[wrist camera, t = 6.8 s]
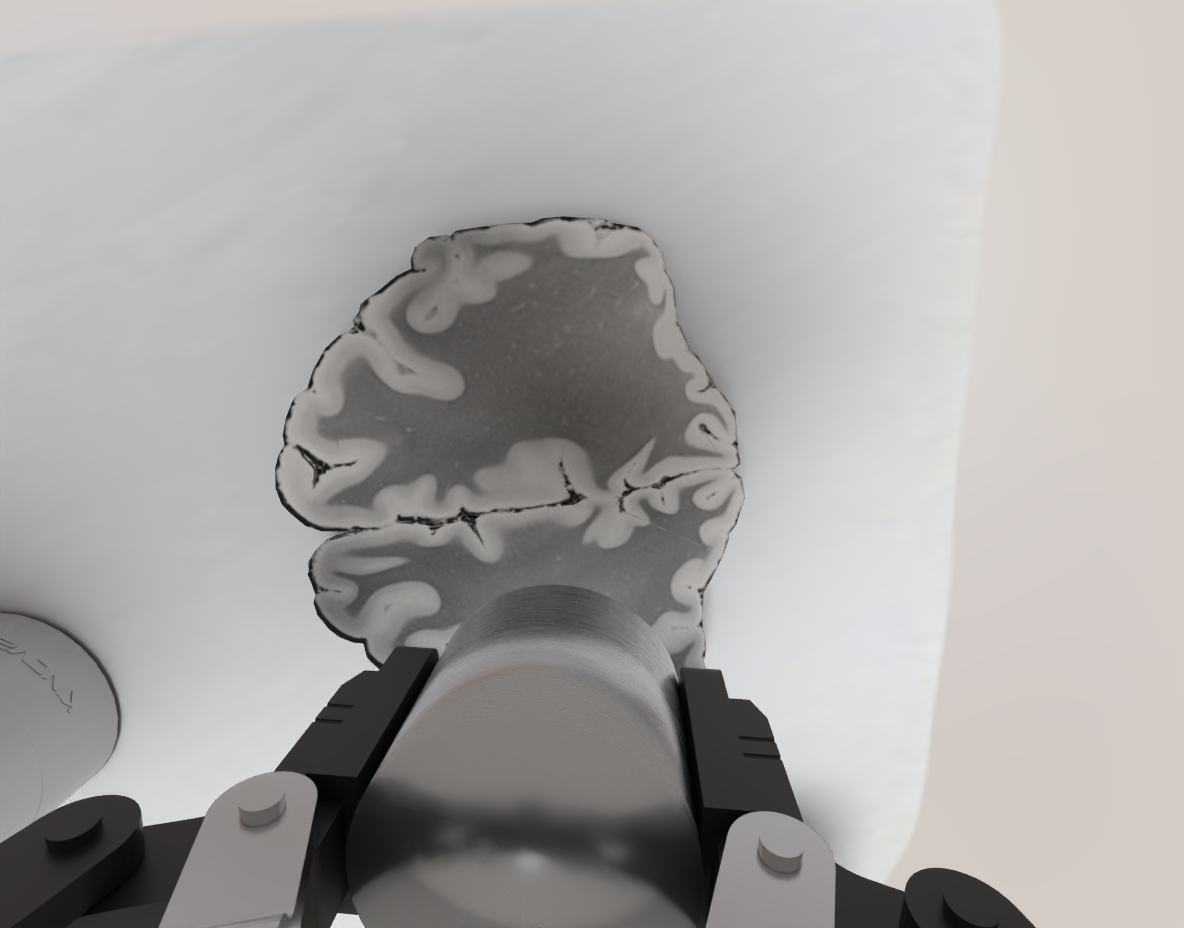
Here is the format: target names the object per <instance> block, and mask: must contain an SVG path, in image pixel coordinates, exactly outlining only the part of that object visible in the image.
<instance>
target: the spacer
mask: <svg viewBox="0 0 1184 928" xmlns="http://www.w3.org/2000/svg"><path fill="white" fill-rule="evenodd" d="M346 872H347V880H348V886H349V889H350V893H351V897H352V900H353V903H354V906H355V908H356V910H357V913H358V915H359V917H360V920H361V922H362V923H363V925H364V927H365V928H696V926H697V923H698V921H699V918H700V914H701V909H702V904H703V898H704V870H703V862H702V855H701V847H700V840H699V833H698V825H697V818H696V810H695V803H694V796H693V788H692V781H691V774H690V766H689V759H688V751H687V744H686V737H685V729H684V722H683V714H682V707H681V700H680V692H679V685H678V678H677V675H676V671H675V668H674V664H673V662H672V660H671V658H670V655H669V653H668V651H667V649H666V648H665V646H664V644H663V643H662V641H661V639H660V638H659V637H658V635H657V634H656V633H655V632H654V631H653V629H652V628H651V627H650V626H649V625H648V624H647V623H646V622H645V621H644V620H643V619H642V618H641V617H640V616H639V615H637V614H636V613H635V612H633V611H632V610H631V609H629V608H628V607H626V606H625V605H623V604H621V603H620V602H618V601H616V600H614V599H612V598H610V597H608V596H605V595H603V594H600V593H598V592H595V591H592V590H588V589H584V588H580V587H574V586H567V585H538V586H530V587H525V588H521V589H517V590H513V591H511V592H508V593H505V594H503V595H500V596H498V597H496V598H494V599H492V600H491V601H489V602H487V603H485V604H484V605H482V606H481V607H480V608H478V609H477V610H476V611H474V612H473V613H472V614H471V615H470V616H469V617H468V618H467V619H466V620H465V621H464V622H463V623H462V624H461V625H460V626H459V628H458V629H457V630H456V632H455V633H454V634H453V636H452V637H451V639H450V641H449V643H448V645H447V646H446V648H445V650H444V652H443V654H442V655H441V657H440V659H439V661H438V662H437V664H436V666H435V668H434V670H433V671H432V673H431V675H430V677H429V679H428V680H427V682H426V684H425V686H424V687H423V689H422V691H421V693H420V695H419V696H418V698H417V700H416V702H415V704H414V705H413V707H412V709H411V711H410V712H409V714H408V716H407V718H406V720H405V721H404V723H403V725H402V727H401V729H400V730H399V732H398V734H397V736H396V737H395V739H394V741H393V743H392V745H391V746H390V748H389V750H388V752H387V754H386V755H385V757H384V759H383V761H382V762H381V764H380V766H379V768H378V770H377V771H376V773H375V775H374V777H373V779H372V780H371V782H370V784H369V786H368V788H367V789H366V791H365V793H364V795H363V797H362V798H361V800H360V802H359V804H358V806H357V807H356V810H355V813H354V816H353V818H352V821H351V824H350V828H349V833H348V838H347V843H346Z"/></svg>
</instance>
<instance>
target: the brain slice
mask: <svg viewBox="0 0 1184 928" xmlns="http://www.w3.org/2000/svg"><path fill="white" fill-rule="evenodd" d="M411 267H412V269H410V270H408V271H406V272H404V273H402V274H400V275H398V276H396V277H395V278H394V279H392V280H391V281H390V282H389V283H388V284H386V285H385V286H384V287H383V288H382V289H380V290H379V291H378V292H376V293H375V294H373V295H372V296H371V297H369V298H368V299H367V300H365V301H364V302H363V303H362V304H361V306H360V310H359V313H358V314H357V315H356V317H355V318H354V320H353V322H354V327H353V328H352V329H351V330H350V331H349V332H347V333H345V334H342V335H340V336H338V337H337V338H336V339H335V340H334V341H333V342H332V343H331V344H330V345H329V346H327V347H326V348H325V350H324V352H323V354H322V355H321V357H320V359H319V361H318V363H317V364H316V366H315V368H314V370H313V372H312V375H311V379H310V382H309V385H308V388H307V389H306V390H305V391H303V392H302V393H301V394H299V395H298V396H296V397H295V398H294V400H293V402H292V404H291V406H290V409H289V412H288V414H287V417H286V421H285V426H284V431H283V438H284V447H283V449H282V450H281V452H280V454H279V456H278V460H277V464H276V468H275V479H276V490H277V493H278V496H279V498H280V501H281V503H282V505H283V506H284V507H285V508H286V509H287V510H288V511H289V512H290V513H291V514H292V515H293V516H294V517H296V518H297V519H298V520H299V521H300V522H302V523H303V524H304V525H305V526H307V527H311V528H314V529H317V530H320V531H349V530H357V531H353V532H349V533H344V534H340V535H336V536H334V537H331V538H329V539H327V540H326V541H325V542H324V543H323V544H322V545H321V546H320V547H319V548H318V549H317V550H316V551H315V553H314V554H313V556H312V557H311V559H310V561H309V562H308V567H309V573H308V576H309V578H310V581H311V583H312V586H313V589H314V592H315V599H314V605H315V609H316V612H317V615H318V616H319V617H320V619H321V620H322V621H323V622H324V624H325V625H326V626H327V627H328V628H329V629H330V630H331V631H332V632H333V633H335V634H336V635H337V636H339V637H341V638H343V639H346V640H348V641H351V642H353V643H363V644H364V647H365V651H366V655H367V658H368V659H369V660H370V661H371V662H372V663H373V664H374V665H375V666H376V667H377V668H378V669H380V668H381V667H382V665H383V664H384V662H385V661H386V660H387V658H388V657H389V655H390V654H391V653H392V651H393V650H394V649H395V647H397V646H409V647H423V648H436V649H437V650H438V653H439V659H440V657H441V655H442V654H443V652H444V650H445V648H446V646H447V645H448V643H449V641H450V639H451V637H452V636H453V634H454V633H455V632H456V630H457V629H458V628H459V626H460V625H461V624H462V623H463V622H464V621H465V620H466V619H467V618H468V617H469V616H470V615H471V614H472V613H473V612H474V611H476V610H477V609H478V608H480V607H481V606H482V605H484V604H485V603H487V602H489V601H491V600H492V599H494V598H496V597H498V596H500V595H503V594H505V593H508V592H511V591H513V590H517V589H521V588H525V587H530V586H538V585H567V586H574V587H580V588H584V589H588V590H592V591H595V592H598V593H600V594H603V595H605V596H608V597H610V598H612V599H614V600H616V601H618V602H620V603H621V604H623V605H625V606H626V607H628V608H629V609H631V610H632V611H633V612H635V613H636V614H637V615H639V616H640V617H641V618H642V619H643V620H644V621H645V622H646V623H647V624H648V625H649V626H650V627H651V628H652V629H653V631H654V632H655V633H656V634H657V635H658V637H659V638H660V639H661V641H662V643H663V644H664V646H665V648H666V649H667V651H668V653H669V655H670V658H671V660H672V662H673V664H674V668H675V671H676V675H677V678H678V684H679V675H680V669H681V667H687V668H701V669H706V668H705V663H704V657H705V652H706V640H705V634H704V631H703V625H702V615H703V592H704V590H705V589H706V587H707V585H708V584H709V582H710V580H711V578H712V576H713V574H714V572H715V570H716V568H717V566H718V564H719V562H720V560H721V558H722V556H723V554H724V551H725V548H726V545H727V542H728V539H729V533H730V532H731V530H732V529H733V528H734V527H735V525H736V523H737V520H738V517H739V514H740V511H741V508H742V505H743V502H744V499H745V497H744V490H743V483H742V478H741V477H740V476H739V475H737V474H736V473H734V472H733V469H734V468H735V467H737V466H738V465H739V464H740V459H739V453H738V448H737V445H738V441H737V430H736V419H735V412H734V410H733V409H732V407H731V406H730V404H729V402H728V401H727V399H726V398H725V396H724V395H723V394H722V393H721V392H720V391H719V390H718V389H717V388H716V387H715V385H714V383H713V381H712V379H711V377H710V376H709V374H708V372H707V370H706V369H705V367H704V365H703V364H702V362H701V361H700V359H699V357H698V356H697V355H696V354H694V353H693V352H692V351H691V350H690V348H689V346H688V343H687V341H686V339H685V336H684V334H683V332H682V329H681V327H680V325H679V324H678V322H677V318H676V303H675V291H674V286H673V284H672V282H671V280H670V278H669V276H668V274H667V272H666V270H665V266H664V261H663V256H662V253H661V251H660V250H659V248H658V247H657V245H656V244H655V242H654V240H653V239H652V237H651V236H649V235H648V234H646V233H645V232H644V231H642V230H641V229H639V228H638V227H632V226H626V225H620V224H615V223H612V222H609V221H607V220H602V219H590V218H576V217H553V218H543V219H540V220H537V221H534V222H532V223H510V224H502V225H493V226H485V227H477V228H471V229H465V230H459V231H455V232H454V233H453V234H452V235H451V236H448V235H445V236H436V237H429V238H428V239H426V240H425V241H423V242H422V243H420V244H419V245H418V246H416V247H415V249H414V252H413V254H412V257H411Z"/></svg>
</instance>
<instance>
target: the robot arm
mask: <svg viewBox="0 0 1184 928" xmlns="http://www.w3.org/2000/svg"><path fill="white" fill-rule="evenodd" d="M438 661H439V653H438V650H437V649H436V648H423V647H409V646H397V647H395V649H394V650H393V651H392V653H391V654H390V655H389V657H388V658H387V660H386V661H385V662H384V664H383V665H382V667H381V668H380V669H379V671H367V670H365V671H363V672H362V673H360V674H358V675H357V676H355V677H354V678H352V679H351V680H349V681H347V682H346V683H344V684H343V685H341V687H340V688H339V689H338V691H337V692H336V693H335V694H334V696H333V697H332V698H331V699H330V701H329V702H328V705H327V707H324V708H323V710H322V711H321V712H320V713H319V715H318V716H317V717H316V720H315V722H312V724H311V725H310V726H309V727H308V729H307V730H306V731H305V733H304V734H303V735H302V736H301V738H300V739H299V740H298V741H297V743H296V744H295V745H294V747H293V748H292V749H291V750H290V752H289V753H288V754H287V755H286V757H285V758H284V759H283V761H282V762H281V763H280V764H279V766H278V767H277V768H276V769H275V771H274V772H271V773H265V774H261V775H258V776H254V777H252V778H249V779H246V780H244V781H242V782H240V783H238V784H236V785H235V786H233V787H231V788H230V789H228V790H227V791H226V792H224V793H223V794H222V795H220V796H219V797H218V798H217V799H216V800H215V801H214V803H213V804H212V805H211V807H210V808H209V810H208V812H207V813H206V816H204V817H199V818H194V819H188V820H182V821H176V822H169V823H163V824H157V825H151V826H144V827H143V823H142V815H141V809H140V807H139V804H138V803H137V802H136V801H135V800H133V799H131V798H129V797H125V796H119V795H103V796H95V797H91V798H86V799H82V800H79V801H76V802H73V803H70V804H67V805H65V806H62V807H60V808H58V809H56V808H57V807H58V806H60V805H61V804H62V803H63V802H64V801H65V800H66V799H68V798H69V797H70V796H71V795H72V794H73V793H75V792H76V791H77V790H78V789H79V788H80V787H81V786H83V785H84V784H85V783H86V782H87V781H88V780H90V779H91V778H92V777H93V776H94V775H95V774H96V773H97V772H98V771H99V770H101V769H102V768H103V766H104V765H105V763H106V762H107V760H108V758H109V757H110V755H111V754H112V751H113V748H114V745H115V742H116V739H117V730H118V715H117V709H116V704H115V699H114V696H113V694H112V691H111V689H110V686H109V684H108V682H107V679H106V678H105V676H104V675H103V673H102V672H101V670H100V669H99V667H98V666H97V664H96V663H95V661H94V660H93V659H92V658H91V657H90V656H89V655H88V654H87V653H86V652H85V651H84V650H83V649H82V648H81V647H80V645H78V644H77V643H76V642H74V641H73V640H72V639H70V638H69V637H67V636H66V635H65V634H63V633H62V632H61V631H59V630H57V629H55V628H53V627H51V626H49V625H47V624H45V623H43V622H41V621H38V620H35V619H31V618H28V617H25V616H22V615H17V614H8V613H0V928H330V927H331V925H332V923H333V920H334V918H335V916H336V914H337V913H343V914H354V915H358V913H357V910H356V908H355V906H354V903H353V900H352V897H351V893H350V889H349V886H348V880H347V872H346V843H347V838H348V833H349V828H350V824H351V821H352V818H353V816H354V813H355V810H356V807H357V806H358V804H359V802H360V800H361V798H362V797H363V795H364V793H365V791H366V789H367V788H368V786H369V784H370V782H371V780H372V779H373V777H374V775H375V773H376V771H377V770H378V768H379V766H380V764H381V762H382V761H383V759H384V757H385V755H386V754H387V752H388V750H389V748H390V746H391V745H392V743H393V741H394V739H395V737H396V736H397V734H398V732H399V730H400V729H401V727H402V725H403V723H404V721H405V720H406V718H407V716H408V714H409V712H410V711H411V709H412V707H413V705H414V704H415V702H416V700H417V698H418V696H419V695H420V693H421V691H422V689H423V687H424V686H425V684H426V682H427V680H428V679H429V677H430V675H431V673H432V671H433V670H434V668H435V666H436V664H437V662H438ZM678 685H679V692H680V700H681V707H682V714H683V722H684V729H685V737H686V744H687V751H688V759H689V766H690V774H691V781H692V788H693V796H694V803H695V810H696V818H697V825H698V833H699V840H700V847H701V855H702V862H703V870H704V898H703V904H702V909H701V914H700V918H699V921H698V923H697V926H696V928H1035V927H1034V925H1033V924H1032V923H1031V922H1030V921H1029V920H1028V919H1027V918H1026V917H1025V916H1024V915H1023V914H1022V913H1021V912H1020V911H1019V910H1018V909H1017V907H1015V906H1014V905H1013V904H1012V903H1011V902H1010V901H1009V900H1008V899H1007V898H1006V897H1004V896H1003V895H1002V894H1001V893H999V892H998V891H997V890H995V889H994V888H992V887H990V886H989V885H988V884H986V883H984V882H982V881H980V880H978V879H976V878H974V877H972V876H969V875H967V874H964V873H961V872H958V871H955V870H950V869H945V868H928V869H923V870H920V871H918V872H916V873H914V874H913V875H912V876H911V877H910V878H909V880H908V882H907V884H906V888H905V892H903V891H901V890H898V889H895V888H892V887H889V886H886V885H883V884H881V883H878V882H875V881H872V880H869V879H866V878H864V877H861V876H859V875H856V874H854V873H852V872H850V871H848V870H846V869H845V868H843V867H841V866H840V865H838V864H837V863H835V860H834V857H833V854H832V852H831V850H830V848H829V846H828V845H827V844H826V842H825V841H824V839H823V838H822V837H821V836H820V835H819V834H818V833H817V832H815V831H814V830H813V829H812V828H810V827H809V826H808V825H806V824H804V823H803V820H802V817H801V814H800V811H799V808H798V805H797V802H796V800H795V797H794V794H793V791H792V788H791V785H790V782H789V779H788V776H787V774H786V771H785V768H784V765H783V762H782V760H780V753H779V751H778V748H777V745H776V743H774V736H773V733H772V730H771V728H770V725H769V722H768V719H767V717H766V716H765V715H764V714H763V713H762V712H761V711H760V710H759V709H758V708H757V707H756V706H755V705H754V704H753V703H752V702H751V701H750V700H743V699H730V698H728V694H727V690H726V687H725V683H724V679H723V675H722V672H721V670H714V669H701V668H687V667H681V669H680V675H679V684H678ZM55 809H56V810H55Z"/></svg>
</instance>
